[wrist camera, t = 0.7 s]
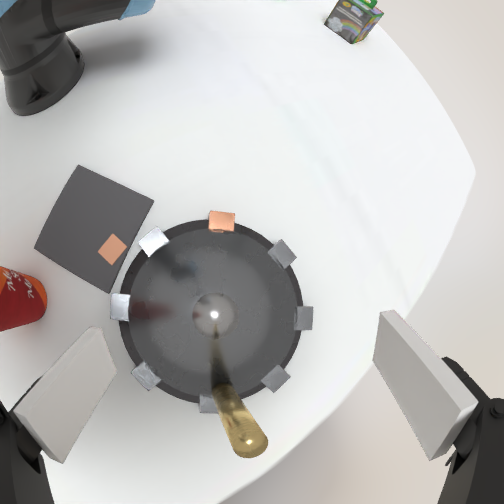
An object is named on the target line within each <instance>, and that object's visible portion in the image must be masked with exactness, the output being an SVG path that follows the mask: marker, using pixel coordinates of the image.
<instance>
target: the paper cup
mask: <svg viewBox="0 0 504 504" xmlns="http://www.w3.org/2000/svg"><path fill="white" fill-rule="evenodd" d="M46 306H47V296H46V292H45V289H44V287H43V285H42V284H41V283H40V282H39V281H38V280H37V279H35V278H33V277H31V276H28V275H25V274H22V273H19V272H16V271H13V270H10V269H7V268H4V267H1V266H0V331H4V330H8V329H11V328H15V327H18V326H22V325H25V324H29V323H32V322H35V321H37V320H39V319H40V318H41V317H42V316H43V315H44V313H45V310H46Z"/></svg>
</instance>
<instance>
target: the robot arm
mask: <svg viewBox="0 0 504 504" xmlns="http://www.w3.org/2000/svg"><path fill="white" fill-rule="evenodd" d="M154 3H155V0H0V69H1V71H2V73H3V75H4V82H5V90H6V97H7V102H8V104H9V106H10V107H11V109H12V110H13V112H14V113H16V114H18V115H31V114H34V113H37V112H40V111H42V110H44V109H46V108H48V107H49V106H51V105H53V104H54V103H56V102H57V101H58V100H60V99H61V98H62V97H63V96H65V95H66V94H67V93H68V92H69V91H70V90H71V89H72V88H73V87H74V85H75V84H76V83H77V81H78V80H79V78H80V77H81V75H82V72H83V69H84V62H83V58H82V54H81V52H80V51H79V49H78V48H77V47H76V46H75V45H74V44H73V42H72V41H71V40H70V39H69V38H68V37H67V35H66V34H65V32H67V31H70V30H73V29H77V28H81V27H84V26H88V25H92V24H96V23H101V22H105V21H110V20H115V19H118V20H122V19H124V18H126V17H132V16H137V15H142V14H145V13H147V12H148V11H149V10H151V8H152V7H153V5H154ZM373 362H374V364H375V365H376V367H377V369H378V370H379V372H380V373H381V375H382V377H383V379H384V380H385V382H386V384H387V385H388V387H389V389H390V390H391V392H392V394H393V396H394V397H395V399H396V401H397V403H398V404H399V406H400V408H401V409H402V411H403V413H404V415H405V417H406V418H407V420H408V422H409V424H410V426H411V428H412V429H413V431H414V433H415V435H416V437H417V438H418V440H419V442H420V444H421V446H422V448H423V450H424V452H425V454H426V456H427V457H428V459H429V461H430V460H433V459H435V458H437V457H439V456H442V455H444V454H446V453H447V451H448V450H449V448H450V447H451V446H452V444H454V446H455V447H456V450H455V452H454V453H453V454H452V456H451V457H450V458H449V460H448V461H447V462H446V464H445V466H448V464H449V463H450V462H451V465H450V468H449V471H448V475H447V478H446V481H445V484H444V487H443V490H442V492H441V495H440V498H439V501H438V504H504V399H501V398H493V399H490V398H489V397H488V396H487V395H486V394H485V393H484V391H483V390H482V389H481V388H480V387H479V386H478V385H477V384H476V383H475V382H474V380H473V379H472V378H471V377H469V375H468V374H467V373H466V372H465V371H464V370H463V368H462V367H461V366H460V365H459V364H458V363H457V362H455V361H453V360H452V359H450V358H448V357H444V358H440V357H439V356H438V355H437V354H436V353H435V351H434V350H432V348H431V347H430V346H429V345H428V344H427V343H426V342H425V341H424V340H423V339H422V338H421V337H420V336H419V335H418V333H416V331H415V330H414V329H413V328H412V327H411V326H410V325H409V324H408V323H407V322H406V321H405V320H404V319H403V318H402V317H401V316H400V315H399V314H398V313H397V312H396V311H395V310H390V311H384V312H380V317H379V324H378V331H377V338H376V344H375V350H374V355H373ZM116 374H117V370H116V367H115V365H114V362H113V360H112V357H111V354H110V352H109V349H108V346H107V343H106V340H105V337H104V335H103V332H102V329H101V328H94V327H89V328H88V329H87V330H86V331H85V332H84V333H83V334H82V335H81V336H80V337H79V338H78V339H77V340H76V341H75V343H74V344H73V345H72V346H71V347H70V348H69V349H68V350H67V351H66V352H65V353H64V354H63V355H62V356H61V357H60V358H59V359H58V360H57V361H56V362H55V364H54V365H53V366H52V367H51V368H50V369H49V370H48V371H47V372H46V373H45V374H44V375H43V376H42V377H40V378H39V379H37V380H36V381H35V382H34V383H33V385H32V386H31V388H29V389H28V390H27V391H26V393H25V394H24V395H23V396H22V397H21V398H20V399H19V401H18V402H17V403H16V404H15V405H14V406H13V408H12V409H11V410H10V411H9V412H7V410H6V409H5V407H4V406H3V404H2V402H1V401H0V504H54V501H53V497H52V494H51V490H50V486H49V482H48V478H47V474H46V469H45V464H44V459H43V457H42V455H41V454H40V452H41V450H43V451H44V452H45V453H46V454H47V455H48V457H49V458H51V459H53V460H55V461H57V462H60V463H62V464H63V463H64V461H65V459H66V457H67V456H68V454H69V452H70V450H71V448H72V447H73V445H74V443H75V441H76V440H77V438H78V436H79V434H80V433H81V431H82V429H83V428H84V426H85V424H86V422H87V421H88V419H89V417H90V416H91V414H92V412H93V411H94V409H95V407H96V406H97V404H98V402H99V401H100V399H101V398H102V396H103V394H104V393H105V391H106V390H107V388H108V386H109V385H110V383H111V382H112V380H113V378H114V377H115V375H116Z"/></svg>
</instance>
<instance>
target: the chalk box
mask: <svg viewBox="0 0 504 504" xmlns="http://www.w3.org/2000/svg"><path fill="white" fill-rule="evenodd" d="M376 4H377V0H371V3H369V2H368V1H366V0H339V1H338V2H337V4H336V5H335V7H334V9H333V10H332V12H331V13H330V15H329V17H328V18H327V20H326V22H325V23H324V25H326V26H327V27H329V28H330V29H332V30H333V31H335V32H336V33H337V34H339V35H340V36H341V37H343V38H344V39H345V40H346V41H348V42H349V43H350V44H353V43H356V42H358V41H360V40H363V39H364V38H365V37H366V36H367V35H368V33H369V32H370V31H371V30H372V28H373V27H374V26H375V25H376V23H377V22H378V21H379V19H380V18H381V17H382V15H383V14H384V13H383V12H382V11H381V10H379V9H378V8H376V7H375V5H376Z"/></svg>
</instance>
